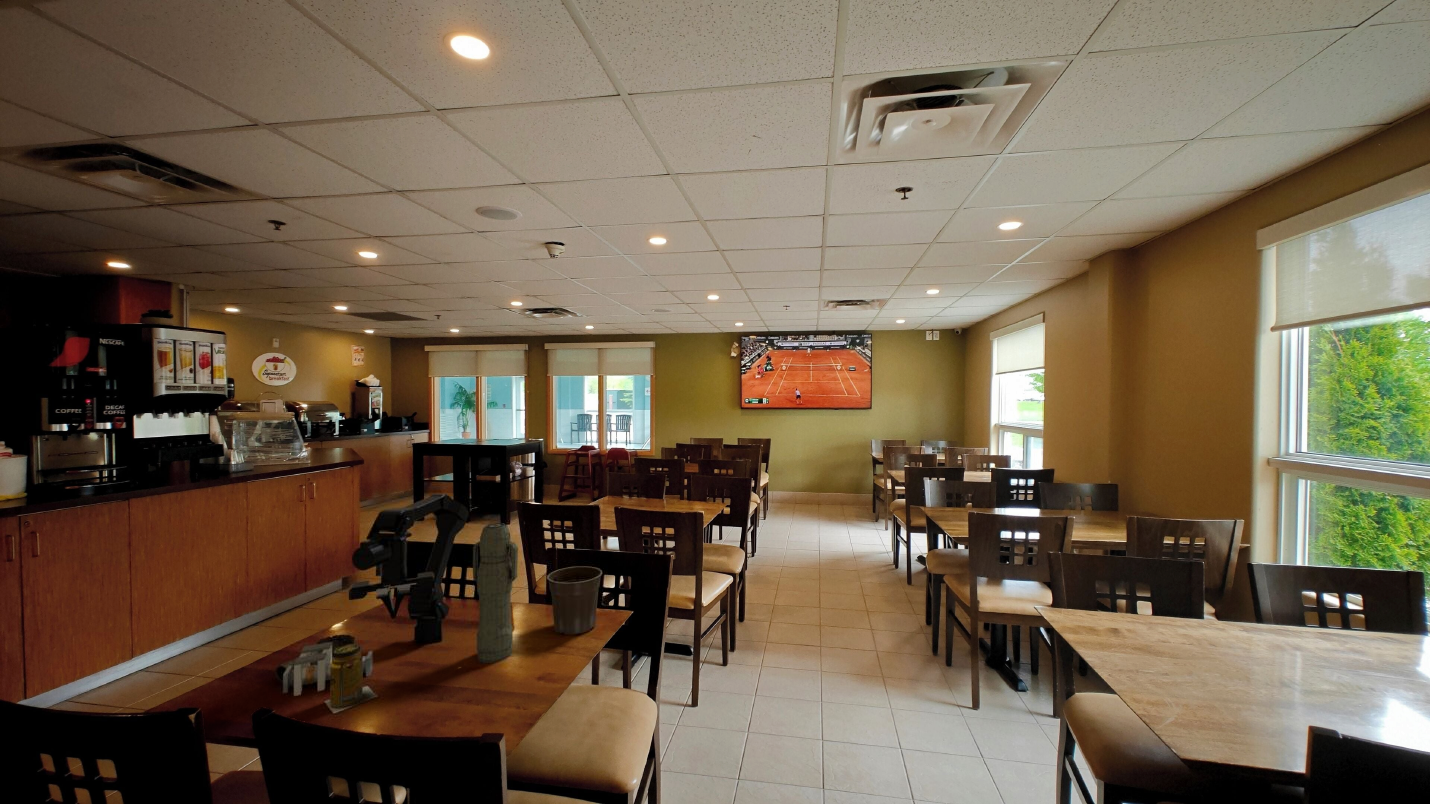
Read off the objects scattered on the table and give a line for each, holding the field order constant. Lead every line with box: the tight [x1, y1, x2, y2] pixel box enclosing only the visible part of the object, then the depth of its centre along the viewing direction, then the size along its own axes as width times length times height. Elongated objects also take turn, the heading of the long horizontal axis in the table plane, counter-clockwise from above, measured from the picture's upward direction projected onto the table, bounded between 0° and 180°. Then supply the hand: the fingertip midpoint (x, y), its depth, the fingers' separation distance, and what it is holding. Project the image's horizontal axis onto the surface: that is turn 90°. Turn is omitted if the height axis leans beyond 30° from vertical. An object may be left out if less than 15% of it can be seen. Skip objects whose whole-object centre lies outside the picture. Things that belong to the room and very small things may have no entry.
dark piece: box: [274, 634, 356, 683], centre depth 134 cm, size 18×7×6 cm, turn 163°
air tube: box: [282, 650, 373, 694], centre depth 126 cm, size 17×4×4 cm, turn 117°
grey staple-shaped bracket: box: [293, 642, 333, 697], centre depth 124 cm, size 6×10×8 cm, turn 28°
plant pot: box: [546, 565, 603, 636], centre depth 157 cm, size 16×16×16 cm
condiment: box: [324, 643, 378, 714], centre depth 118 cm, size 7×8×12 cm
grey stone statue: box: [472, 522, 519, 664], centre depth 139 cm, size 9×12×35 cm
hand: (393, 618), depth 134 cm, fingers closed
